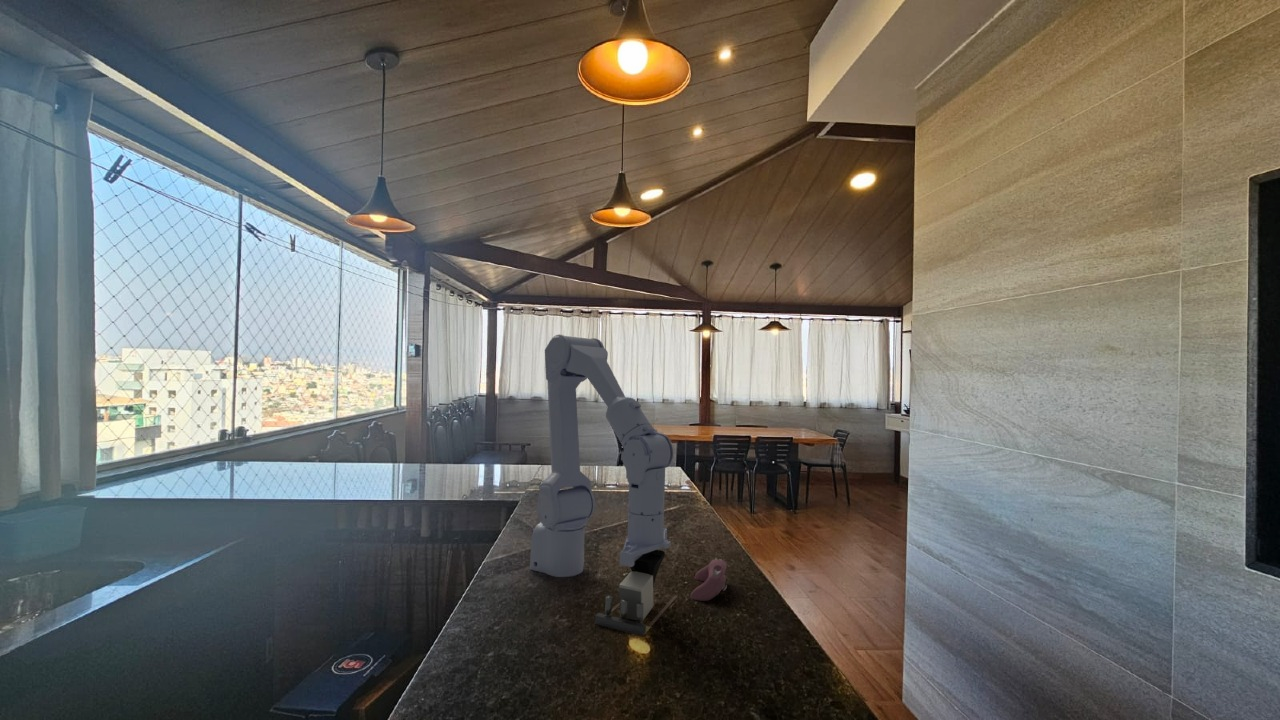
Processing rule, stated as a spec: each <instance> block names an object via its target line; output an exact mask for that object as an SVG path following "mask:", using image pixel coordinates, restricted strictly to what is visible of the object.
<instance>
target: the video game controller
mask: <svg viewBox="0 0 1280 720" xmlns="http://www.w3.org/2000/svg"><path fill="white" fill-rule="evenodd" d="M714 558H715V559H711V561H710V562H709V563H708V564H707V565H705V566H704V567H702V568H700V569H699V570H698V571H697V572H696V573H695V575H694V578H693V579H694V580H695V581H700V582H701V581H702V582H703V583H701V584H700V585H699V586H697V587H696V588H695V589H693V590H692V592H691V593H690V596H689V598H690V599H692V600H695V601H703V602H705V601H706V602H708V601H710V600H712V599H714V598H716V597H717V596H718V595H719V594H720V593H721V591H722V592H725V591H726V590H727V587H728V585H727V584H726V583H725V582H726V579H727V576H726V571H727V567H728V563H727V562H726V561H725V560H724V559H718V558H717V557H714Z"/></svg>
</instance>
